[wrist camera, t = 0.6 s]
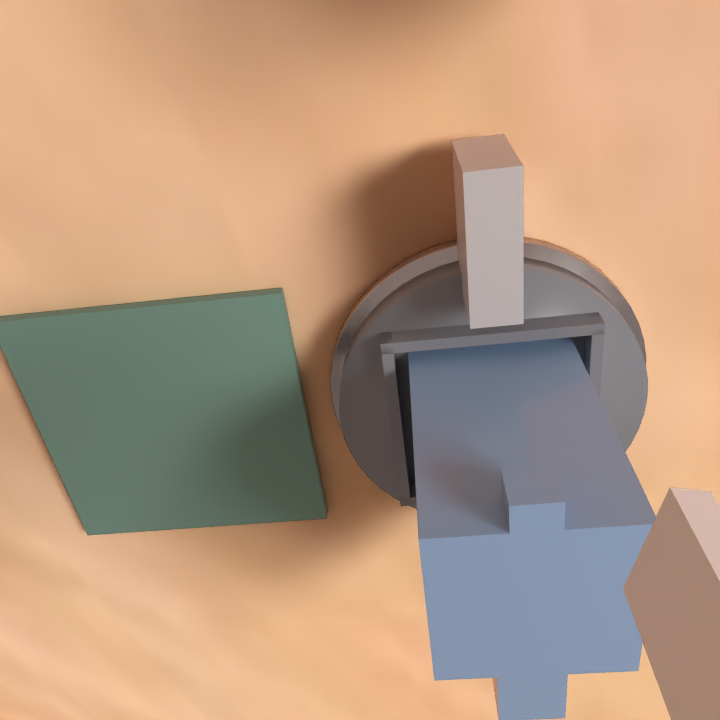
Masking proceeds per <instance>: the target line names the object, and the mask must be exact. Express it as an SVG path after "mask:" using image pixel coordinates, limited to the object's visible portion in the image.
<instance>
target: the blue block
mask: <svg viewBox="0 0 720 720" xmlns="http://www.w3.org/2000/svg"><path fill="white" fill-rule="evenodd" d="M408 359H409V377H410V395H411V412H412V430H413V448H414V466H415V484H416V501H417V519H418V537H419V547H420V556H421V565H422V574H423V583H424V591H425V600H426V609H427V618H428V627H429V636H430V645H431V654H432V662H433V671H434V680H454V679H476V678H493V685H494V692H495V699H496V706H497V712H498V719H499V720H533V719H558V718H565V713H566V695H567V676H568V674H583V673H605V672H626V671H638V670H639V663H640V656H641V649H642V639H641V636H640V634H639V631H638V628H637V626H636V623H635V620H634V618H633V615H632V612H631V609H630V607H629V604H628V601H627V599H626V596H625V593H624V591H623V587H624V585H625V583H626V580H627V578H628V576H629V574H630V572H631V570H632V568H633V565H634V563H635V561H636V559H637V557H638V555H639V553H640V551H641V548H642V546H643V544H644V542H645V540H646V538H647V536H648V533H649V531H650V529H651V527H652V525H653V523H654V521H655V518H656V516H655V514H654V512H653V510H652V507H651V505H650V503H649V501H648V499H647V497H646V495H645V493H644V491H643V488H642V486H641V484H640V482H639V480H638V478H637V476H636V474H635V472H634V469H633V467H632V465H631V463H630V461H629V459H628V457H627V455H626V453H625V450H624V448H623V446H622V444H621V442H620V440H619V438H618V436H617V434H616V431H615V429H614V427H613V425H612V423H611V421H610V419H609V417H608V414H607V412H606V410H605V408H604V406H603V404H602V402H601V400H600V398H599V395H598V393H597V391H596V389H595V387H594V385H593V383H592V381H591V379H590V376H589V374H588V372H587V370H586V368H585V366H584V364H583V362H582V360H581V357H580V355H579V353H578V351H577V349H576V347H575V345H574V343H573V341H572V338H571V337H568V338H557V339H546V340H535V341H524V342H513V343H502V344H491V345H480V346H469V347H458V348H447V349H436V350H426V351H415V352H408Z"/></svg>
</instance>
